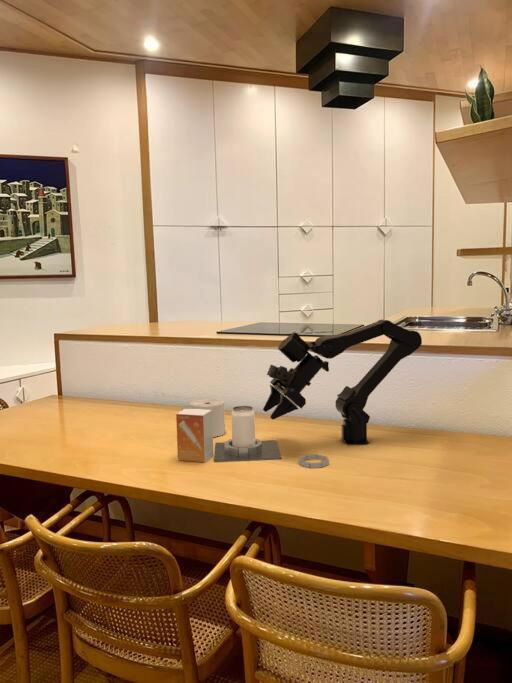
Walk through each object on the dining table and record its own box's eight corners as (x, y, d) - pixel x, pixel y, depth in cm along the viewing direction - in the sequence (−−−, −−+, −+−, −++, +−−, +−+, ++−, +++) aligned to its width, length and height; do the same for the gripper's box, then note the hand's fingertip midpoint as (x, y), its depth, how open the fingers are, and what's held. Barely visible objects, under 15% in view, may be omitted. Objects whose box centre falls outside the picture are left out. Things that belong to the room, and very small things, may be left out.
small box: (177, 460, 142) (175, 413, 141) (187, 453, 148) (185, 408, 147) (205, 463, 140) (203, 415, 138) (214, 455, 146) (212, 409, 144)
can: (237, 454, 144) (236, 411, 143) (229, 448, 150) (227, 407, 149) (259, 451, 147) (258, 408, 146) (249, 445, 153) (248, 404, 151)
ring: (325, 457, 141) (325, 453, 141) (330, 467, 134) (330, 463, 134) (297, 458, 141) (297, 455, 141) (301, 468, 134) (300, 464, 133)
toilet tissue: (232, 432, 168) (231, 401, 167) (204, 441, 159) (202, 409, 158) (209, 427, 175) (208, 397, 174) (181, 435, 166) (179, 404, 165)
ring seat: (276, 441, 157) (275, 433, 157) (281, 459, 141) (281, 450, 141) (215, 443, 156) (215, 436, 156) (213, 462, 140) (213, 453, 140)
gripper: (275, 350, 157) (241, 390, 156) (292, 358, 139) (253, 403, 138) (302, 374, 159) (268, 413, 159) (322, 385, 141) (283, 430, 140)
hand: (267, 414), depth 149 cm, fingers open, 9 cm apart
